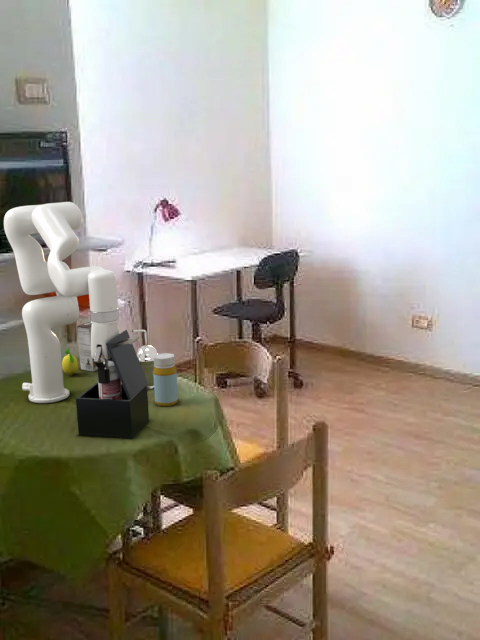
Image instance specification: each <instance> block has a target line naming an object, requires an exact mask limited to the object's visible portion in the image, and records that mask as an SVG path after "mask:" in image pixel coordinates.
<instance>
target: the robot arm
mask: <svg viewBox="0 0 480 640" xmlns="http://www.w3.org/2000/svg"><path fill="white" fill-rule="evenodd" d="M83 219H84V218H83V213H82V210H81V209H80V207H79V206H78V205H77V204H76V203H74V202H72V201H60V202H50V203H49V202H48V203H44V204H32V205H22V206H21V205H20V206H16V207H12V208H11V209H9V210H7V212H6V213H5V215H4V217H3V229H4V233H5V235H6V238H7V240H8V241H7V242H8V243H9V244H10V246H11V249H12V251H13V254H14V258H15V264H16V269H17V273H18V278H19V283H20V286H21V289H22V291H23V293H25V294H26V295H28V296H36V295H38V296H39V295H44V294H49V293H55V294H56V295H54V296H47V297H41V298H37V299H33V300H29V301H28V302H26V303H24V305H23V306H22V309H21V317H22V321H23V324H24V327H25V332H26V337H27V344H28V345H27V346H28V352H29V366H30V373H31V374H30V375H31V382H23V383H22V385H21V390H22V391H24V392H29V393H28V400H29V401H30V402H31V403H37V404H49V403H56V402H57V403H58V402H60V401H64V400H65V399H67V398H69V396H70V390H69V389H68V388H65V383H64V373H63V372H64V371H63V369H62V360H63V359H62V351H61V342H60V340H59V337H58V336H57V335H56V334H55V333H54V332H53V331H52V329H54V328H59V327H64V326H68V325H71V324H72V325H73V324H74V323H76V322H77V321H78V319H79V317H80V307H79V301H78V297H81V296H86V295H88V299H89V314H90V322H91V323H92V327H91V356H92V358H93V359H94V362H95V364H96V366H97V383H98V382H99V383H102V384H109V383H110V374H109V369H108V360H109V361H113V360H112V358H111V355H110V353H109V350H108V348H107V346H106V343H107V342H108V341H110V340H111V339H113V338H114V337H116V336H117V335H119V334H120V328H119V321H120V314H119V300H118V285H117V284H118V283H117V274H116V273H115V272H114V271H113V270H110V269H106V268H104V267H102V266H100V265H91V266H83V267H76V268H70V266H69V265H68V264H67V263H66V262H65V261H64V260H65V259H67V258H68V257H70V256H71V255H72V254H73V253H74V252H76V250H77V249H78V246H79V242H80V241H79V237H78V236H77V234H76V233H75V231H76V230H79V229H80V228H81V226H82V225H83ZM33 234H39V235H40V237H41V238H42V240H43V241H44V243H45V244H46V246H47V248H48V249H49V251H50V252H49V254H48V257H47V261H46V259H45V254H44V250H43V246H42V245H41V244H40V243H39V241H38V240H37V239H35V237H33V236H32V235H33ZM101 356H105V358H101ZM101 361H105V365H104V363H103V362H101Z"/></svg>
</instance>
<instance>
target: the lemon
mask: <svg viewBox="0 0 480 640" xmlns="http://www.w3.org/2000/svg"><path fill="white" fill-rule="evenodd" d="M64 355H65V356H64V357H63V358H62V359H61V360H62V371H63V372H64V373H65V374H67V375H69V376H73V375H74V374H75V373H77V372H78V370H79V361H78V359H77V357H76V356H74V355H73V354H71V351H70V347H67V348H65V350H64Z"/></svg>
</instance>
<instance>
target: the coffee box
mask: <svg viewBox="0 0 480 640" xmlns="http://www.w3.org/2000/svg"><path fill="white" fill-rule="evenodd" d="M91 327H92V323H91V321H88V322H85V323H82V324H78V325H76V330H77V340H78V343H77V344H78V352H79V353H78V354H79V362H80V363H79V365H80V370H82V371H86V372H93V373H94V372H96V371H97V372H98V370H97V366H96V364H95V362H94V359H93V358H92V356H91ZM101 358H105V356H101ZM108 361H109V360H108ZM101 362H105V361H101Z"/></svg>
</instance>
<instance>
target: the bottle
mask: <svg viewBox="0 0 480 640" xmlns="http://www.w3.org/2000/svg"><path fill="white" fill-rule="evenodd" d="M175 360H176V358H175V354H174V353H171V352H160V353H158V354H156V355H155V356H154V366H155V367H154V370H153V376H154V388H153V393H154V403H155V404H156V405H157V406H160V407H171V406H174V405H176V404H177V403H178V401H179V392H178V390H179V389H178V374H177V373H178V372H177V368H176V361H175Z"/></svg>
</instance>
